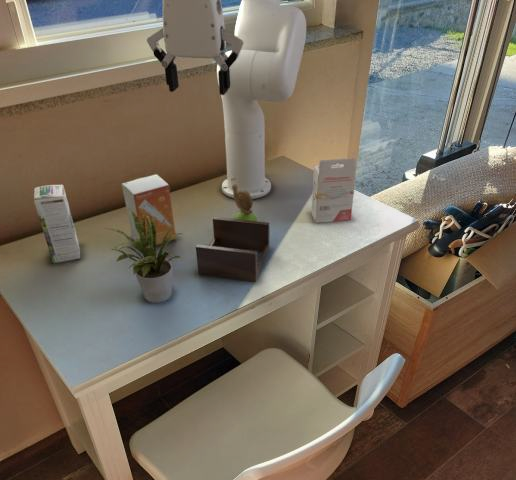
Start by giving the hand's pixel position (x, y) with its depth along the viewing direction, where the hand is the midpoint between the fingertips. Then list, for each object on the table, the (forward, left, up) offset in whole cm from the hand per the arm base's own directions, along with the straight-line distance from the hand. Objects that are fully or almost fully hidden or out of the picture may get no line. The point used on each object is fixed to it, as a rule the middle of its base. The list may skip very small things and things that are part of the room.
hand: (198, 91), depth 95 cm
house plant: (+23, -5, -31) cm, 38 cm away
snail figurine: (-3, +7, -31) cm, 31 cm away
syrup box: (+14, -28, -31) cm, 44 cm away
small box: (+4, -12, -31) cm, 33 cm away
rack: (+9, +8, -30) cm, 33 cm away
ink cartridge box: (-14, +25, -31) cm, 42 cm away
